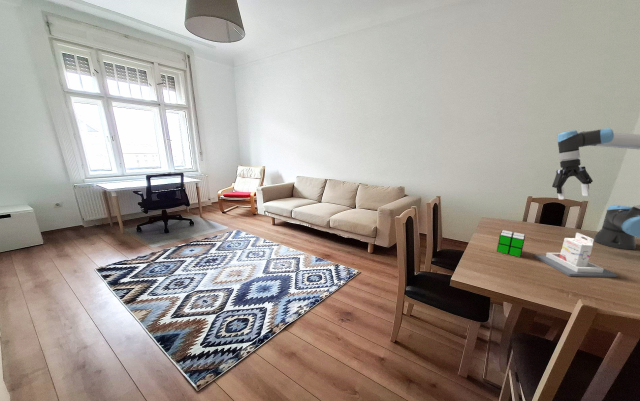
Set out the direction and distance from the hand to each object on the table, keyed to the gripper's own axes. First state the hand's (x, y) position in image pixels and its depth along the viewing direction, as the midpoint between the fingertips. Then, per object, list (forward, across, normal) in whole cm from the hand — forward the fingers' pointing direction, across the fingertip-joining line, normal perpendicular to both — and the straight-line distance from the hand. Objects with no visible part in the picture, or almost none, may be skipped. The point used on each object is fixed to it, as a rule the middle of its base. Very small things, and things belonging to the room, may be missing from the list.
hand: (573, 197), depth 126 cm
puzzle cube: (+24, +41, +2) cm, 48 cm away
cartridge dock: (+29, +25, +18) cm, 43 cm away
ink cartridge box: (+28, +25, +18) cm, 42 cm away
